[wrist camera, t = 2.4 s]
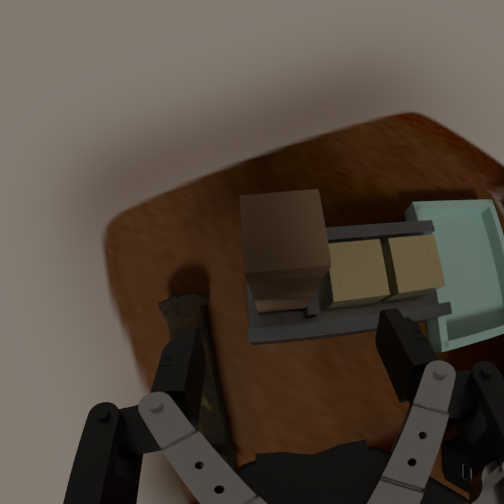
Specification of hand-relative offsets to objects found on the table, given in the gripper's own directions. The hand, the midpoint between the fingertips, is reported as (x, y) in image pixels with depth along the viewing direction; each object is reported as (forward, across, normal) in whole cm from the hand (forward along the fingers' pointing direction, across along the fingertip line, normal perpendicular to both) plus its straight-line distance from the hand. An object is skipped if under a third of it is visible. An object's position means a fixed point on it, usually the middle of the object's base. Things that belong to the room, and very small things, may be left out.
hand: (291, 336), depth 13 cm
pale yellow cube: (+10, -5, +4) cm, 12 cm away
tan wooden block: (+10, 0, +4) cm, 11 cm away
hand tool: (+6, +6, +13) cm, 16 cm away
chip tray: (+12, -19, +6) cm, 24 cm away
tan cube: (+10, -10, +4) cm, 15 cm away
